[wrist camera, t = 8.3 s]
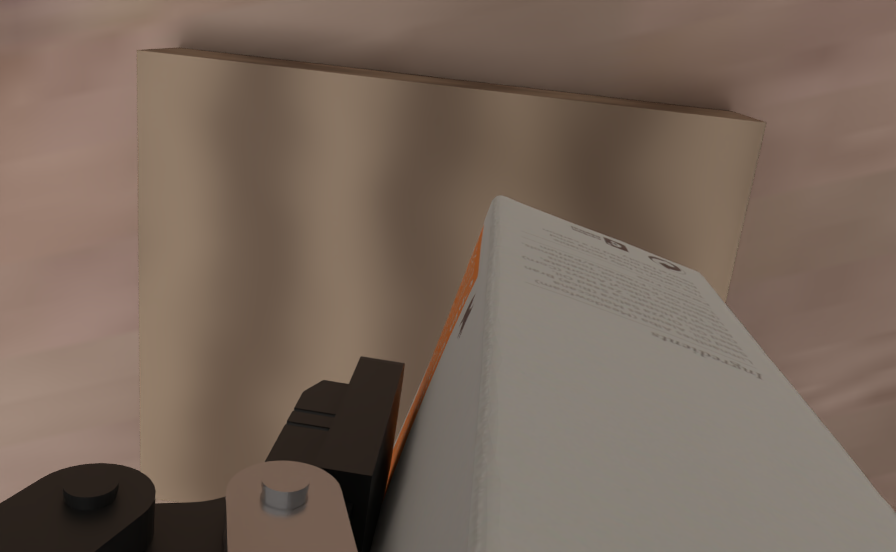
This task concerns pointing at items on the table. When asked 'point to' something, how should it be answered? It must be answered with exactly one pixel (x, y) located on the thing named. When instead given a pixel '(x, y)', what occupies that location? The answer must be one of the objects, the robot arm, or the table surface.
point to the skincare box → (610, 416)
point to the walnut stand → (370, 226)
